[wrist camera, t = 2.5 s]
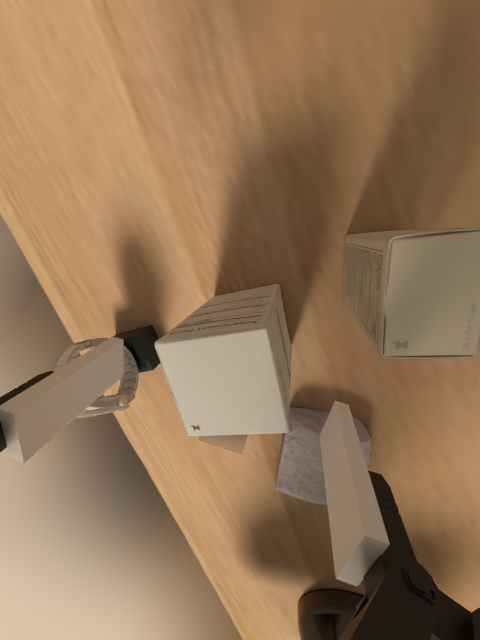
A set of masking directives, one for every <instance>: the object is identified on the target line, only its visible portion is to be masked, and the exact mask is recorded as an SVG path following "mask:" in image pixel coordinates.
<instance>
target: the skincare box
mask: <svg viewBox="0 0 480 640" xmlns="http://www.w3.org/2000/svg"><path fill="white" fill-rule="evenodd" d="M343 300H344V302H345V303H346V305H347V306H348V308H349V309H350V311H351V312H352V314H353V315H354V317H355V318H356V320H357V321H358V323H359V324H360V326H361V327H362V329H363V330H364V332H365V334H366V335H367V336H368V338H369V340H370V341H371V342H372V344H373V346H374V347H375V349H376V350H377V352H378V353H379V355H380V356H381V357H382V358H415V359H418V358H436V359H441V358H474V357H476V356H477V354H478V351H479V347H480V228H452V229H422V230H392V231H379V232H369V233H359V234H350V235H347V236H346V237H345V248H344V276H343Z"/></svg>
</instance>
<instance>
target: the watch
mask: <svg viewBox="0 0 480 640" xmlns="http://www.w3.org/2000/svg"><path fill="white" fill-rule="evenodd" d="M113 337H116V338H119V339H123V340H124V348H123V376H122V377H121V381H120V387H119V390H118V393H117V395H110V396H104V397H99V398H97V399H96V400H95V401H94V402H93V403H92V404H91V405H89V406H88V407H87V408H86V409H85V410H84V411H83V412H81V413H80V414H79V415H78V416H77V417H76V418H83V417H89V416H95V415H100V414H105V413H110V412H115V411H120V410H123V409H126V408H129V405H128V403H130V402H131V401H132V400H133V399H134V398H135V393H136V390H137V386H138V383H137V382H138V373H140V372H145V371H150V370H153V369H154V368H156V367H157V366H158V365H159V364H160V363H161V362H160V359H159V357H158V354H157V351H156V349H155V341H157V340H158V337H157V334H156V332H155V330H154V328H153V325H150V326H147V327H143V328H139V329H135V330H132V331H128V332H124V333H121V334H117V335H115V336H113ZM108 339H109V338H96V339H89V340H85V341H82V342H78V343H74V344H73V346H70V347H69V348H67V349H65V350H64V351H62V353H60V355H59V356H58V357H57V359H56V361H55V362H54V364H53V367H52V370H51V371H53V372H56V371H57V370H59V369H61V368H62V367H64V366H65V365H67V364H69V363H70V362H72V361H74V358H75V357H76V356H77V354H78V353H79V351H81V350H85V349H93V348H95V347H96V346H98V345H100V344H101V343H103V342H105V341H106V340H108ZM131 380H132V381H131ZM126 381H127V382H126Z"/></svg>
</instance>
